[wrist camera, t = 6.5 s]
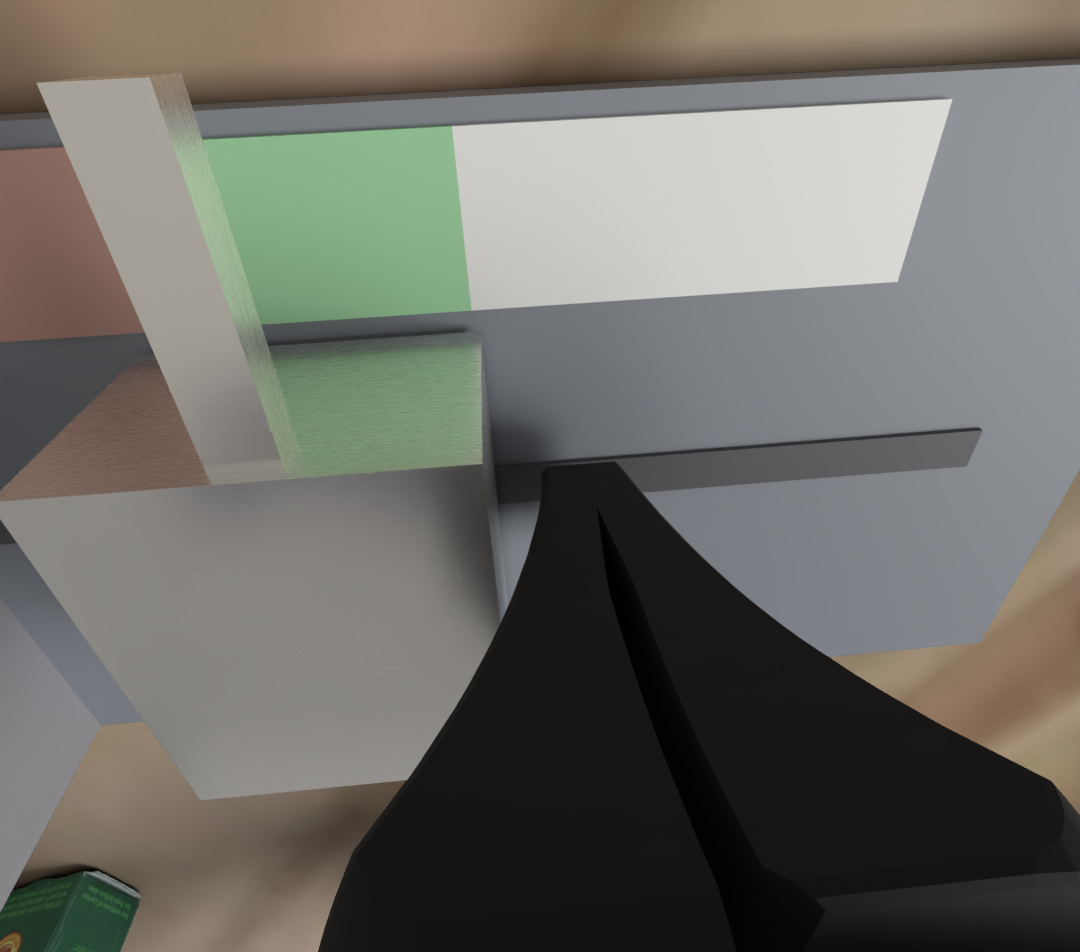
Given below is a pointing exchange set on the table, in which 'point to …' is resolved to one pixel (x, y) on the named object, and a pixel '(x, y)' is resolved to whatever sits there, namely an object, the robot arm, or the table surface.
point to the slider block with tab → (258, 493)
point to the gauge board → (626, 329)
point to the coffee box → (68, 915)
